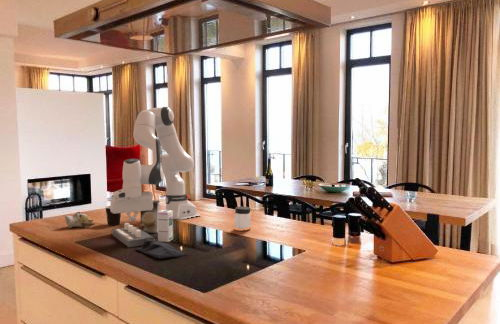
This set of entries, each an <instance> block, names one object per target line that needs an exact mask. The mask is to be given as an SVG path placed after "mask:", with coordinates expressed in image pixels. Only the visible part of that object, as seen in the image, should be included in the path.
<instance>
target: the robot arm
mask: <svg viewBox="0 0 500 324" xmlns="http://www.w3.org/2000/svg"><path fill="white" fill-rule="evenodd" d="M174 122H175V113H174V111H173V109H172V108H170V107H169V106H163V107H153V108H149V109H145V110H140V111H139V112H137V114H136V115H135V121H134V126H133V139H134V141H135V142H136V143H137V144H138V145H140V146H142V147H143V148H146V149H149V150H151V151H152V162H153V163H152V164H141V161H140V159H137V158H128V159H125V160H123V166H122V181H123V182H122V188H121V189H118V190H116V191H113V192H112V198H111V201H110V205H109V206H110V211H111V212H112V213H113V214H116V213H121V214H124V213H125V214H126V216H127V217H128V221H129V222H136V220H137V216H138V214H139V212H141V211H146V210H152V209H153V201H152V200H153V198H154V194H153V192H152V191H142V185H153V186H158V185H159V184H160V183H162V181H164V179H165V192H166V193H165V197H164V198H165V209H164V210H173V220H181V221H182V220H188V219H187V218H189V219H192V218H191V217H194V218H196V217H195V216H199V215H200V216H201V214H200V213H199V212H198V210H197V207H196V205H195V204H193V203H192V202H191V201H190V200H188V199H190V198H191V195H190V194H186V193H185V192H186V191H185V186H186V185H185V183H186V182H185V180H184V179H183V178H182V177H181V174H180V173H187V172H191V171H192V170H193V169H194V166H195V161H194V158H193V157H192V156H191V155H189V154H188V153H187V151H185V149H184V148H183V146H182V144H181V143H180V140H179V138H178V134H177V130H176V127H175V125H174ZM156 135H157V136H156ZM162 150H163V151H164V152H166V153H164V154H162ZM131 213H133V216H131ZM198 214H199V215H198Z"/></svg>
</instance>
